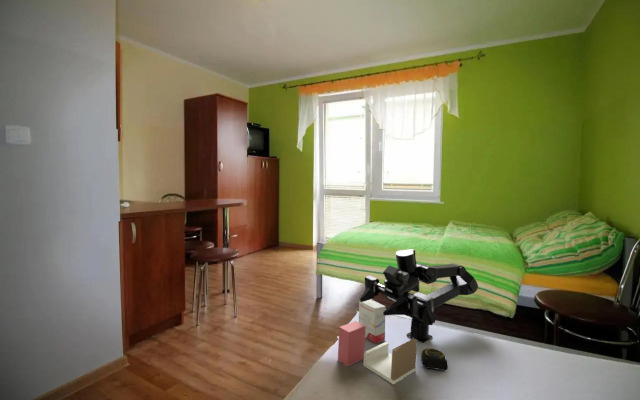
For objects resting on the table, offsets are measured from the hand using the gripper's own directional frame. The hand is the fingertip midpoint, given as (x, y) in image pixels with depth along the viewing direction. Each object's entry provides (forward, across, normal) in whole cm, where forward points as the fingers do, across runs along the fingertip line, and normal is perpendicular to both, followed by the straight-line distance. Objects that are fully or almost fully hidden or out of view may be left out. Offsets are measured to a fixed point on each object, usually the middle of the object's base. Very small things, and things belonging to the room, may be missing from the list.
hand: (371, 306), depth 93 cm
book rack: (+3, +8, +14) cm, 17 cm away
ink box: (-6, -7, +19) cm, 21 cm away
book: (+9, -1, +14) cm, 17 cm away
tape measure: (-8, +16, +17) cm, 25 cm away
